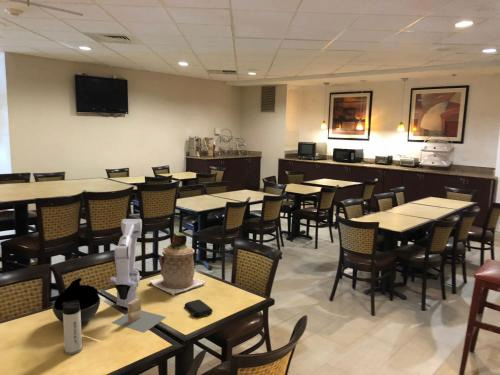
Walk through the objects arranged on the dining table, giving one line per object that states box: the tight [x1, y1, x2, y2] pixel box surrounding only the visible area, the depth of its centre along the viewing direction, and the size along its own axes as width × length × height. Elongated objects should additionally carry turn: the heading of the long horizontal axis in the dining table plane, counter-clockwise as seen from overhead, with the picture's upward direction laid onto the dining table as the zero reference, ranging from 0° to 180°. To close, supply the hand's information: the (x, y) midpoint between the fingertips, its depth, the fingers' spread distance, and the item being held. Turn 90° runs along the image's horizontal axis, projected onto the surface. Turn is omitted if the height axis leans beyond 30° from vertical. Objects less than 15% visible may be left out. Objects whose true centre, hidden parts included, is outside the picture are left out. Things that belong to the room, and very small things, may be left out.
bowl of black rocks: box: [51, 277, 101, 325], centre depth 172 cm, size 20×20×19 cm
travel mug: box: [62, 301, 83, 356], centre depth 150 cm, size 6×7×20 cm
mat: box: [111, 309, 167, 334], centre depth 176 cm, size 19×16×1 cm
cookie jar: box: [148, 231, 206, 296], centre depth 218 cm, size 25×25×32 cm
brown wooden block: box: [127, 298, 142, 323], centre depth 176 cm, size 3×6×9 cm, turn 155°
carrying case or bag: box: [184, 299, 213, 318], centre depth 188 cm, size 11×3×15 cm
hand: (123, 298), depth 178 cm, fingers closed
